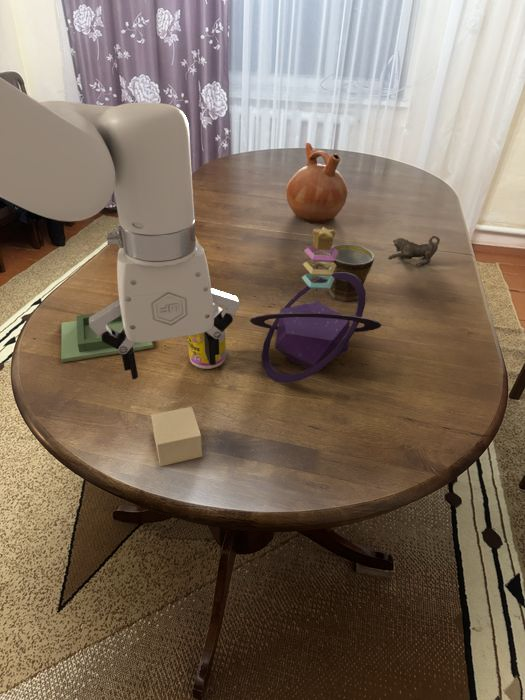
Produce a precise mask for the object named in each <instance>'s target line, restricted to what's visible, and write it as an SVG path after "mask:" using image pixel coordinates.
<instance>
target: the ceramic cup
mask: <svg viewBox="0 0 525 700" xmlns="http://www.w3.org/2000/svg"><path fill="white" fill-rule="evenodd" d="M332 248H335V249H336V250H337V251H338V254H337V256H336V258H335V260H334V261H333V262H334V263H335V264H336V267H335V270H334V272H333V273H336V272H348V273H351V274H354V275H356V276H357V277H358V278H359V279H360V280H361V281H362V283H363V285H364V284H365V282H366V280H367V277H368V275H369V273H370V272H371V270H372V269H371V268H372V266H373V263H374V261H375V253H373V252H372V251H371V250H369V249H368V248H366V247H364V246H360V245H357V244H345V243H344V244H337V245H333V246H332ZM327 256H331V254H329V253H327ZM319 266H320V264H316V265H315V269H319ZM327 270H329V267H327ZM364 286H365V285H364ZM328 290H329V294H330V296H331V297H332V298H333V299H335V300H338V301H342V302H352V301H356V300H358V296H357V292H356V289H355V287H354V286H353V285H352V284H351V283H350V282H348V281H345V280H342V279H338V280H334V281H333V283H332V285H331V288H329V289H328Z"/></svg>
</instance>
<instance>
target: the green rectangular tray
mask: <svg viewBox="0 0 525 700" xmlns="http://www.w3.org/2000/svg"><path fill="white" fill-rule="evenodd" d="M96 313H97V312H95V313H87V314H81V315H76V320H72V321H64V322H61V324H60V325H61V326H60V327H61V330H60V332H61V335H60V337H61V339H60V340H61V342H60V344H61V345H60V351H61V352H60V360H61V363H67V362H73V361H80V360H86V359H93V358H100V357H106V356H111V355H119V354H120V353H119V352H118V349H116V348H114V347H112V346H110V345H108V344H106V343H104V342H103V341H102V338H101V337H100V336H98V335H97V334H96V333H95V332H94V331H93V330H92V329H91V328H90V327H89V318H90V317H91V316H92V315H94V314H96ZM107 326H108V327H110V328H112V329H113V330H115V331H117V332H119V331H120V330H121V329H122V327H123V322H122V316H119V317H118V318H116V319H114V320H113V321H111V322H109V323H108V324H107ZM153 348H154V344H153V341H152V342H144V343H136V342H135V344H134V345H133V350H134V352H138V351H144V350H149V349H153Z"/></svg>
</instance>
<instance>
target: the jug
mask: <svg viewBox="0 0 525 700" xmlns="http://www.w3.org/2000/svg"><path fill="white" fill-rule="evenodd" d="M305 154H306V162H307V163H306V166H304V167H302V168H300V169H299V170H297V171H296V173H294V175H293V176H292V177H291V178H290V180H289V181H288V183H287V185H286V202H287V204H288V206H289V208H290V209H291V211H292V212H293V214H294V215H295V217H297V219H299V220H300V221H303V222H305V223H309V224H325V223H330V222H331V221H332V220H333V219H334V218H335V217H336V216H337V215H338V214H339V213H340V211H342V209H343V207H345V204H346V201H347V198H348V187H347V185H346V182H345V179H344V178H343V176H342V175H341V174H340V172H339V171H338V170H337V168H338V165H339V163H340V161H341V157H340V156H339V154H338V153H332V154H331V155H330V154H329V153H327V152H326V151H325V150H317V149H315V148H313V145H312V144H311V142H306V143H305ZM319 157H321V158H322V159H323V161H324V164H322V163H319V162H318V158H319Z"/></svg>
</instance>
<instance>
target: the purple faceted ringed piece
mask: <svg viewBox="0 0 525 700" xmlns="http://www.w3.org/2000/svg"><path fill="white" fill-rule="evenodd" d="M312 236H313V239H312V246H309V247H306V249H303V251H304V252H305V254H306V255H307V257H309V258H310V260H307V261H305V262H303V263H302V265H303V266H304V268H305V269H306V270H307V271H308V272H309V273H307V274H304V275H303V276H301V279H302V280H303V281H304V282H305V284H306V286H305V287H303V288H302V289H301V290H299V291H298V292H297V293H296V294H295V295H294V296H293V297H292V298H290V300H289V301H288V302H287V303H286V304H285V305H284V307H283V308H282V307H281V308H280V310H279V313H267V314H262V315H257V316H253V317H251V318H250V319H249V322H250V323H251V324H252V325H254V326H257V327H261V328H264V329H268V332H267V335H266V337H265V339H264V342H263V346H262V352H261V363H262V369H263V371H264V373H265V375H266V377H267V378H269V379H271V380H272V381H274V382H275V383H282V384H290V383H295V382H299V381H302V380H304V379H306V378H308V377H310V376H312V375H314V374H316V373H317V372H319V371H320V370H321V369H323V368H324V367H326V366H327V365H328V364H329V363H331V362H332V360H334V359H336V358H338V357H339V356H341V355H342V354H344V353H345V352H347V351H349V348H350V346H349V345H350V340H351V338H352V337H353V336H354V334H355V333H363V332H364V333H365V332H369V331H374V330H377V329H379V328H381V327H382V323H380V322H379V321H377V320H374V319H371V318H367V317H363V314H364V310H365V306H366V289H365V285H363V283H362V281H361V280H360V279H359V278H358V277H357V276H356V275H354V274H351V273H348V272H336V273H333V272H334V270H335V267H336V264H335V263H334V262H333V261H334V260H335V258H336V256H337V254H338V251H337V250H336V249H335V248H332V247H333V242H334V239H335V236H336V229H327V228H326V227H325V226H323V227H322V228H321V229H319V228H313V229H312ZM319 251H320V252H324V253H327V255H326V254H325V255H323V254H322V255H321V254H314V253H317V252H319ZM328 253H329V254H331V256H328ZM316 264H319V266H320V265H321V266H323V267H326V268H328V267H329V270H328V269H320V268H318V269H316V268H313V266H316ZM314 278H317V279H316V280H313V281H311V280H312V279H314ZM338 279H342V280H345V281H348V282H350V283H351V284H352V285H353V286H354V287H355V289H356V292H357V296H358V298H357V307H356V311H355V313H354V315H347V314H342V313H340V312H338V311H337V310H335V309H333V308H331V307H329V306H327V305H325V304H324V303H322V302H320V301H318V300H317V301H312V302H307V303H303V304H298V305H294V303H296V302H297V300H299V299H300V298H301V297H302V296H303V295H304V294H306V293H307V292H310V290H329V288H331V285H332V283H333V281H334V280H338ZM301 301H302V302H303V300H301ZM293 305H294V306H293ZM269 320H274V321H273V323H272V324H270V323H268V322H266V321H269ZM351 322H352V323H351ZM359 324H362V325H363V326H360V327H358V326H359ZM275 330H276V331H277V332H276V339H275V344H274V345H275V346H274V349H276V350H277V351H278V352H280V354H282V355H283V357H285V358H286V359H287V360H288V361H289V362H292V363H293V364H296V365H298V366H301V367H302V368H305V370H303V371H299V372H295V373H283V372H280V371H278V370H277V369H275V368H274V365H273V364H272V362H271V359H270V349H271V348H270V347H271V342H272V338H273V336H274V334H275Z"/></svg>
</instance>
